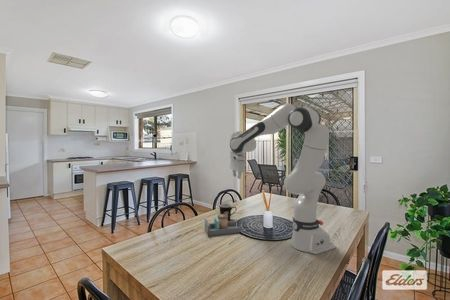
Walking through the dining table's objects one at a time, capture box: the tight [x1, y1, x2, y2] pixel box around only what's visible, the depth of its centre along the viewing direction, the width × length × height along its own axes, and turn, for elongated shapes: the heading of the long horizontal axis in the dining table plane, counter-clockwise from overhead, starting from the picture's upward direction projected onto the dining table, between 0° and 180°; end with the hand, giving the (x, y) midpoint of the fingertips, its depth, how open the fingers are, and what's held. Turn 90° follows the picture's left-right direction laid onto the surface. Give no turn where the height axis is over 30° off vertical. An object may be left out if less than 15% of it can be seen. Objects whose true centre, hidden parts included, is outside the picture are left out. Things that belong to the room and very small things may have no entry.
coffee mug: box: [219, 203, 237, 222], centre depth 153 cm, size 12×9×10 cm
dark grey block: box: [204, 218, 242, 237], centre depth 134 cm, size 20×11×6 cm, turn 105°
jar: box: [216, 213, 229, 229], centre depth 134 cm, size 6×6×9 cm
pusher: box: [213, 216, 219, 230], centre depth 133 cm, size 1×8×7 cm, turn 15°
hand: (236, 177), depth 144 cm, fingers open, 8 cm apart
